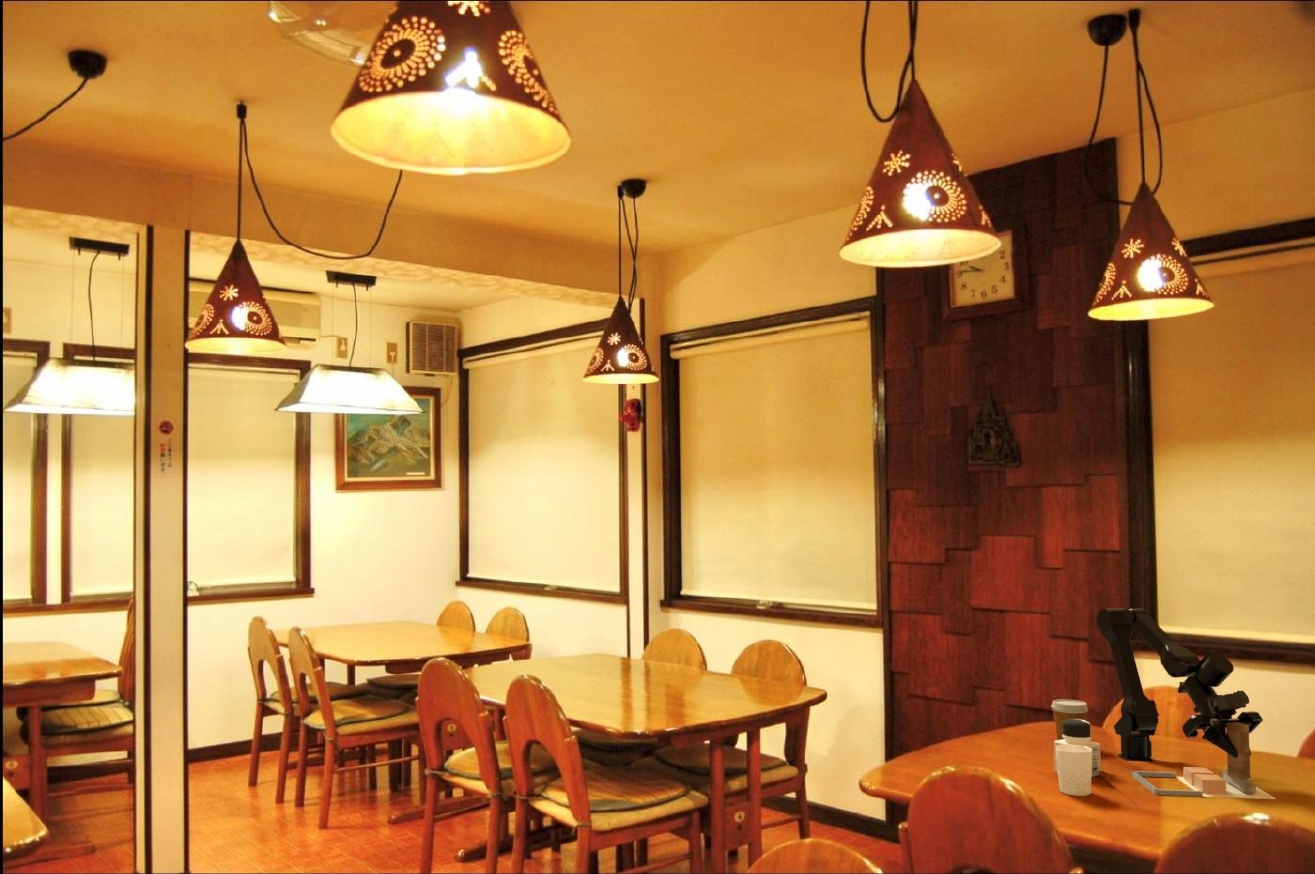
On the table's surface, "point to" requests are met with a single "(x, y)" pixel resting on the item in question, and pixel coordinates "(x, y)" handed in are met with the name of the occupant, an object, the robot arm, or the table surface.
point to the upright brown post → (1239, 758)
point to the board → (1233, 792)
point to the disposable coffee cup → (1067, 713)
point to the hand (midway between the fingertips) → (1243, 756)
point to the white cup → (1074, 769)
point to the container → (1079, 741)
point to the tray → (1139, 776)
